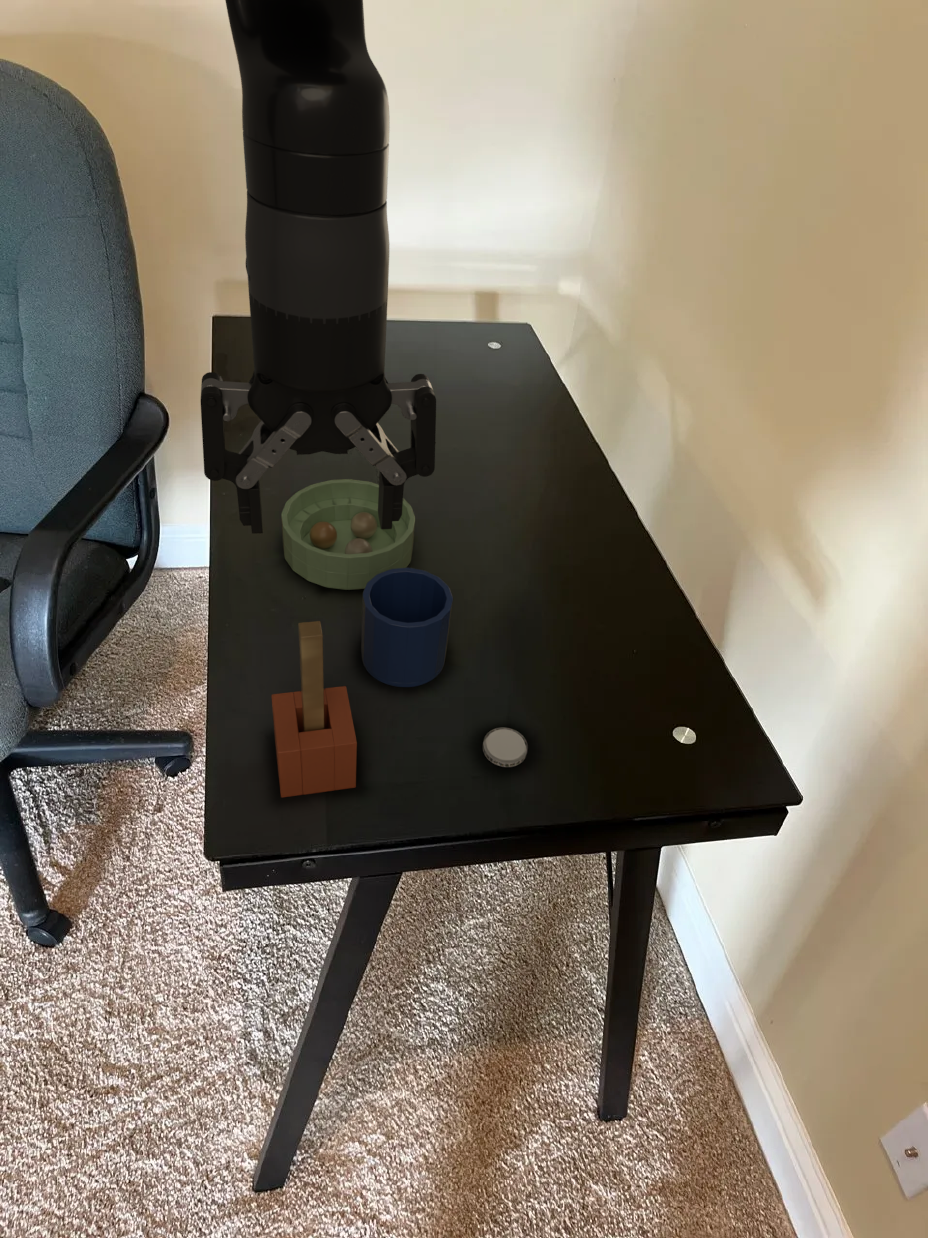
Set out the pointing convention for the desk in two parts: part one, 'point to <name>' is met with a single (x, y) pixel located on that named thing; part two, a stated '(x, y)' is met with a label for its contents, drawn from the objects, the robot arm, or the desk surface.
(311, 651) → the stick
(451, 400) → the desk surface
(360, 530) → the bead
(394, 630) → the crock
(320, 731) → the holder
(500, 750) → the grey bottle cap
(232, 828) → the desk surface
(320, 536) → the bead
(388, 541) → the bowl
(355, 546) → the bead
